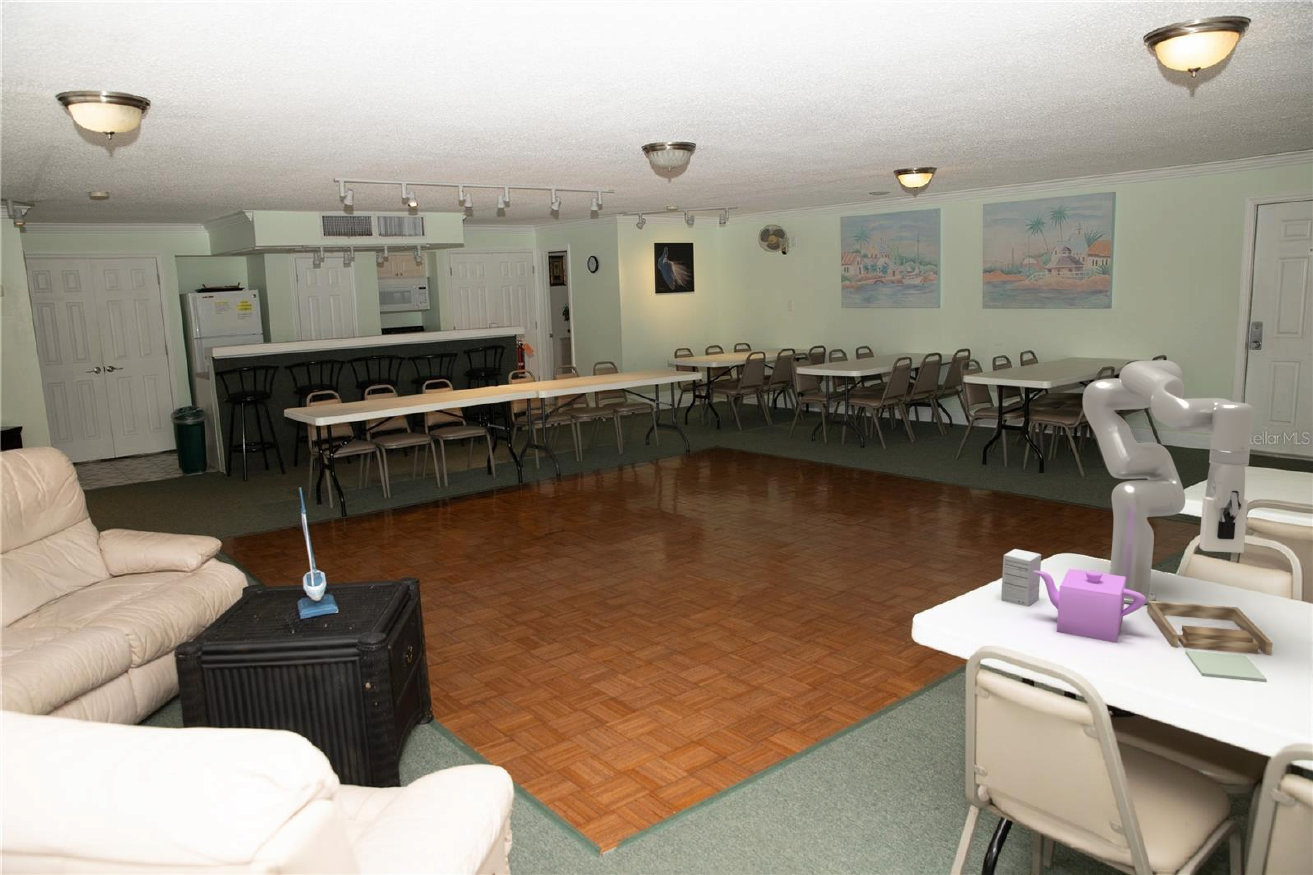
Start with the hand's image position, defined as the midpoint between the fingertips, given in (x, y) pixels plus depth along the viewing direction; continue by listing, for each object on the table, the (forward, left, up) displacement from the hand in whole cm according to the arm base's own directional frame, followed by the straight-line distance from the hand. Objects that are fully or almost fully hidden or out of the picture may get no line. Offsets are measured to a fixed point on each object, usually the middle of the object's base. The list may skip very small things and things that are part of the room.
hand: (1222, 536), depth 200 cm
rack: (0, +6, -26) cm, 27 cm away
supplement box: (-40, +19, -26) cm, 51 cm away
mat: (-2, -14, -26) cm, 29 cm away
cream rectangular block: (0, 0, -3) cm, 3 cm away
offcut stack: (0, -2, -26) cm, 26 cm away
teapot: (-26, +4, -26) cm, 37 cm away
